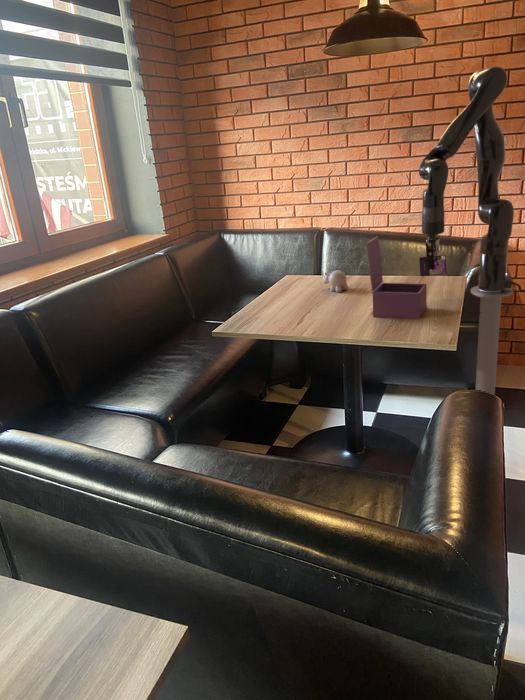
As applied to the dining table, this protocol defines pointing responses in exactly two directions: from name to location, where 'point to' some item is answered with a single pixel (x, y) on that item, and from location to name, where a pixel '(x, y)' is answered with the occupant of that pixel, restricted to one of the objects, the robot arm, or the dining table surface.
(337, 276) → the chubby cartoon animal
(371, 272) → the lid
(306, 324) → the dining table surface
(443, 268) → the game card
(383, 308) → the box
